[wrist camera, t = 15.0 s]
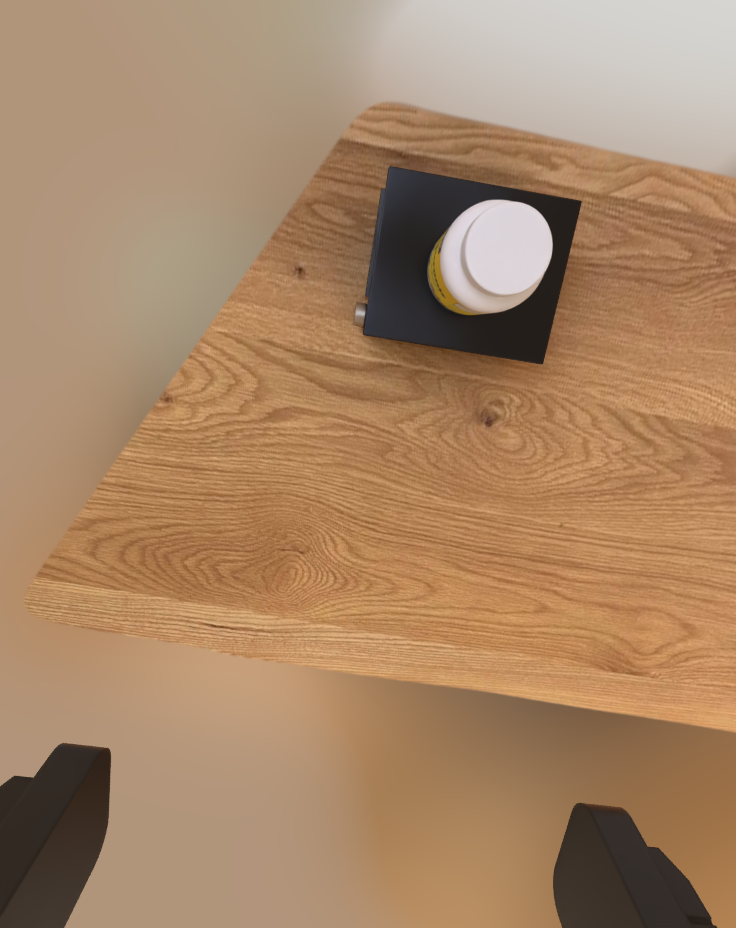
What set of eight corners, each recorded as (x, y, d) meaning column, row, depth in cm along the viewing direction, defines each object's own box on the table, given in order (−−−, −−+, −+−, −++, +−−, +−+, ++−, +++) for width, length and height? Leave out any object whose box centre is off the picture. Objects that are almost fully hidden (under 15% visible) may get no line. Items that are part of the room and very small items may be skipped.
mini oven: (353, 332, 42) (350, 332, 34) (373, 196, 39) (376, 163, 32) (510, 358, 42) (543, 364, 35) (539, 225, 40) (582, 200, 32)
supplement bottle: (434, 217, 32) (464, 171, 23) (520, 233, 33) (585, 193, 23) (418, 308, 34) (440, 300, 24) (500, 322, 34) (554, 320, 24)
